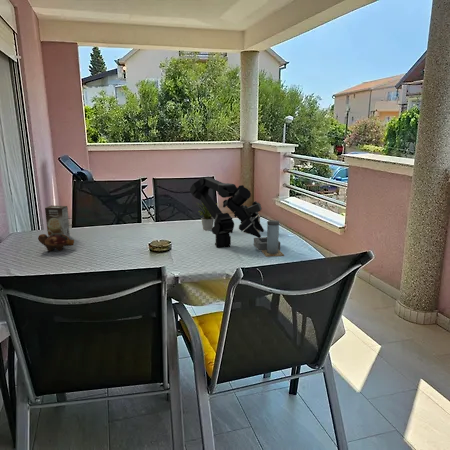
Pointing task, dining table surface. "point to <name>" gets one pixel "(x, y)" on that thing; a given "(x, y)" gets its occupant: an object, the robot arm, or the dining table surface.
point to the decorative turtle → (55, 241)
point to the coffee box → (57, 220)
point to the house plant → (206, 218)
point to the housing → (262, 243)
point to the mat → (272, 254)
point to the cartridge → (272, 236)
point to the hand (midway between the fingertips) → (262, 234)
